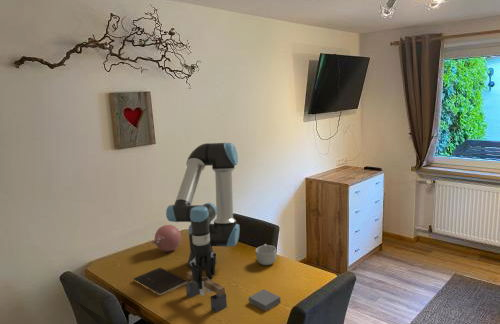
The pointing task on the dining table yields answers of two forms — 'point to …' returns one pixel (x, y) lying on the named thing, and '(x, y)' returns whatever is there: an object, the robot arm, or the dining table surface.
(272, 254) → the teacup
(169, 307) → the dining table surface
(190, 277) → the walnut stick
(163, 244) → the balloon
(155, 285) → the hardcover book
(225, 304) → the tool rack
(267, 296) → the tile
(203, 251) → the robot arm
